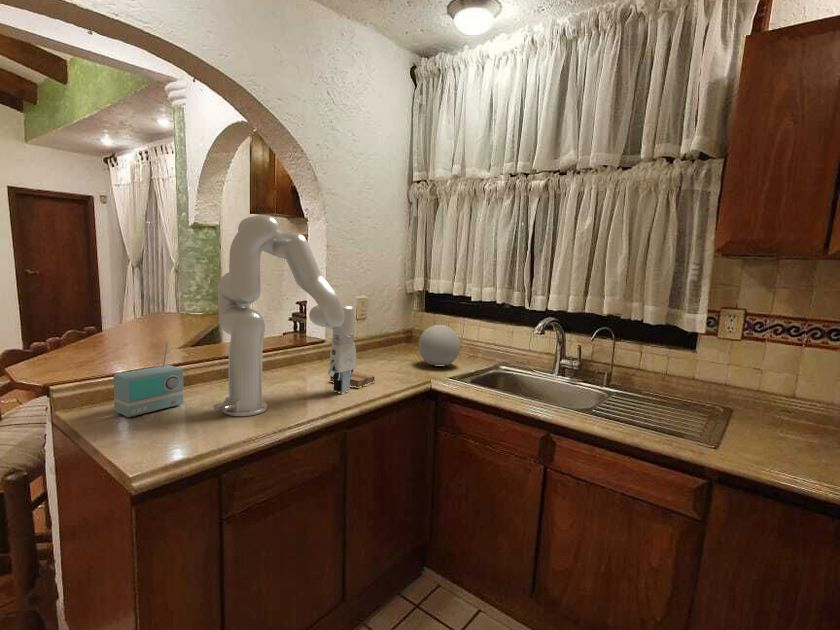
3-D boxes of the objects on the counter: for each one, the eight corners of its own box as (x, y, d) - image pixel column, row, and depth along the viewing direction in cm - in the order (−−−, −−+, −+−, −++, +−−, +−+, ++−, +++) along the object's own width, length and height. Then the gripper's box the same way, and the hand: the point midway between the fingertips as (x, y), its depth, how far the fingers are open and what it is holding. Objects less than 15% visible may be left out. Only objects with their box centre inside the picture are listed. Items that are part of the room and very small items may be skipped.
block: (342, 394, 152) (342, 371, 151) (333, 392, 154) (334, 370, 153) (349, 391, 155) (350, 369, 154) (341, 389, 157) (341, 368, 156)
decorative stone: (410, 363, 207) (412, 322, 205) (445, 360, 217) (447, 321, 215) (430, 372, 190) (432, 328, 188) (467, 369, 199) (469, 327, 197)
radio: (129, 421, 118) (127, 350, 116) (114, 414, 123) (112, 346, 121) (186, 406, 132) (185, 343, 130) (170, 401, 137) (168, 339, 134)
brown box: (358, 388, 160) (358, 381, 159) (330, 382, 167) (330, 374, 166) (374, 383, 168) (374, 376, 168) (347, 377, 175) (347, 370, 175)
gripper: (335, 343, 143) (333, 396, 145) (365, 338, 158) (364, 386, 160) (318, 341, 147) (317, 392, 149) (350, 335, 162) (348, 382, 164)
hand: (341, 388), depth 154 cm, fingers closed on block, 4 cm apart
